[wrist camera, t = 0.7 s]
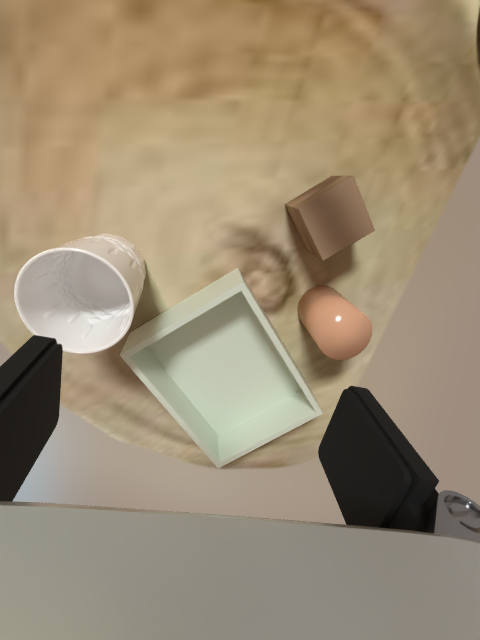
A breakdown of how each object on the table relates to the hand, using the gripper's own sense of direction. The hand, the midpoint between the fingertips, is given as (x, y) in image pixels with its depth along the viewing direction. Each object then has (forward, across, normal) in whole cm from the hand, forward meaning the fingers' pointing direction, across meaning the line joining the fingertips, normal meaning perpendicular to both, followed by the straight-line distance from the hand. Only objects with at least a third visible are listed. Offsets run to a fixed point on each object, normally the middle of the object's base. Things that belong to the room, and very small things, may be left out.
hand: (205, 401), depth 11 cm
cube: (+24, -10, -6) cm, 27 cm away
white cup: (+24, +8, +4) cm, 26 cm away
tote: (+24, -5, +12) cm, 27 cm away
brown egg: (+24, -14, +3) cm, 28 cm away
